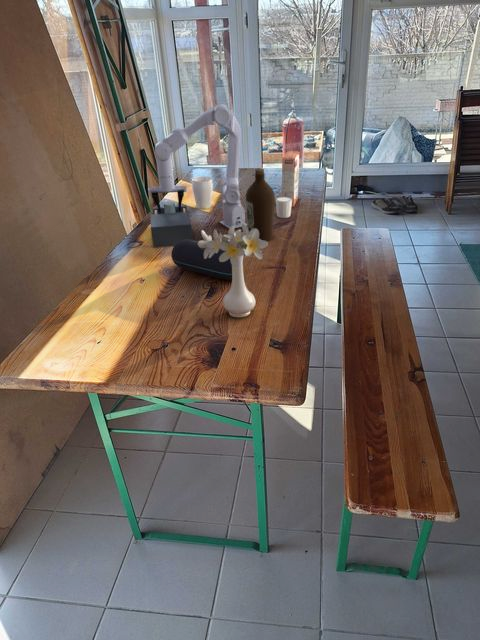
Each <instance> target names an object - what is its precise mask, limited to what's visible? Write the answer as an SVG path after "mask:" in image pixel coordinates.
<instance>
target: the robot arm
mask: <svg viewBox="0 0 480 640" xmlns="http://www.w3.org/2000/svg"><path fill="white" fill-rule="evenodd" d="M215 124H216V125H218V126H219V127H222V128H223V129H224V130H225V132H227V133H228V134H227V137H228V138H227V151H226V152H227V153H226V169H225V177H224V184H223V185H222V188H221V192H222V194H223V199H222V203H221V204H222V217H223V218H222V220H220V221H219V224H221V225H223V226H224V227H226V228H227V229H228V230H229V229H230V228H231V227H232V226H233V227H234V229H238V228H242V224H245V225H246V227H248V223H247V222H246V210H245V208H244V207H243V205H242V203H241V194H240V190H239V170H240V157H241V155H240V154H241V143H242V141H241V140H242V127H241V126H240V123H239V122H238V120H237V118H236V117H235V114H234V112H233V111H232V110H231V108H229V107H228V106H227V105H226V104H225V103H222V102H218V103H216V104H215V105H214V106H213V107H212V106H211V107H210V108H208V109H206V110H205V111H204V112H202V113H201V114H200V115H199V116H197V117H196V118H195V119H193V121H191V122H190V123H188V125H186V126H185V127H184V128H177V129H176V128H173V129H172V130H171V133H170V134H168V135H167V136H166V137H162V138H161V141H158V142H157V143H155V146H154V154H155V157H156V158H155V159H156V160H155V161H156V170H157V177H158V186H153V187H148V188H147V191H148V192H147V193H148V195H151V199H152V200H153V201H154V203H155V205H156V208H157V207H158V210H159V213H161V208H160V207H161V204H160V203H161V202H160V196H159V194H168V193H177V203H178V204H177V206H178V207H179V211H181V206H182V202H183V199H184V196H185V193H187V192H188V191H187V185H175V179H174V169H173V162H172V157H171V156H172V154H173V153H176V152H177V151H179V149H181V148H183V147H184V146H185V145H186V144H188V142H189V137H191V136H192V135H193V134H196V133H197V132H198V131H199V130H201V129H202V128H204V127H205V126H214V125H215Z"/></svg>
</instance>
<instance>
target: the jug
mask: <svg viewBox="0 0 480 640" xmlns="http://www.w3.org/2000/svg"><path fill="white" fill-rule="evenodd" d="M175 206H176V203H175V201H165V202H163V207H164V212H165V214H166V213H176V210H175Z"/></svg>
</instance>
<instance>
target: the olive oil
mask: <svg viewBox="0 0 480 640" xmlns="http://www.w3.org/2000/svg"><path fill="white" fill-rule="evenodd" d="M254 171H255V173H254V181H253V182H252V183H251V185H250V186H249V187H248V189H247V190H246V193H245V208H246V220H247V228H248V230H249V232H250V231H251V230H252V229H254V228H256V229H257V230H258V231H259V239H261V240H264V241H267V242H268V241H270V240H272V239H273V238H274V221H275V219H274V218H275V203H276V196H275V192H274V189H273V187H271V185H269V184H268V182H267V181H266V178H265V177H266V176H265V175H266V174H265V169H264V168H256V169H255V170H254ZM248 234H249V233H248Z"/></svg>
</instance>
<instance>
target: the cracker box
mask: <svg viewBox="0 0 480 640" xmlns="http://www.w3.org/2000/svg"><path fill="white" fill-rule="evenodd" d="M300 152H301V151H295V150H294V151H292V150H291V151H289V150H288V151H286V152H285V154H284V156H283V157H282V158H281V159H282V160H281V197H289V198H291V199H292V205H291V208H294V207H295V205H296V203H297V201H298V199H299V177H300V155H301V154H300Z"/></svg>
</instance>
